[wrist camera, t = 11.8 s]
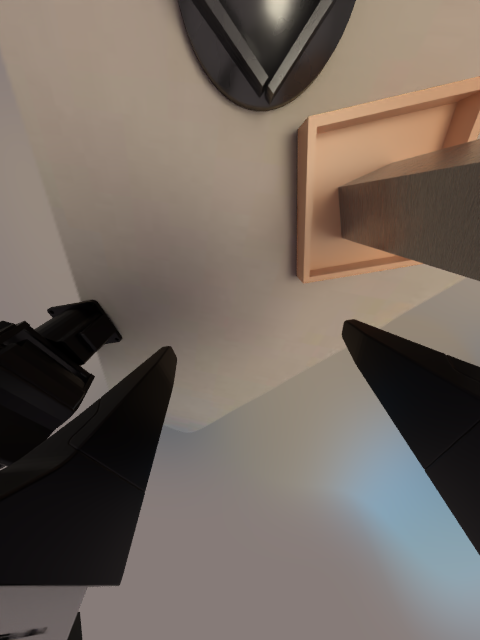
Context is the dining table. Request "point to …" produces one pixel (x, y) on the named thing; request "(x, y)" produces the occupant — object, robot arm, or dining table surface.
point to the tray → (369, 166)
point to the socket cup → (264, 45)
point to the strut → (420, 209)
